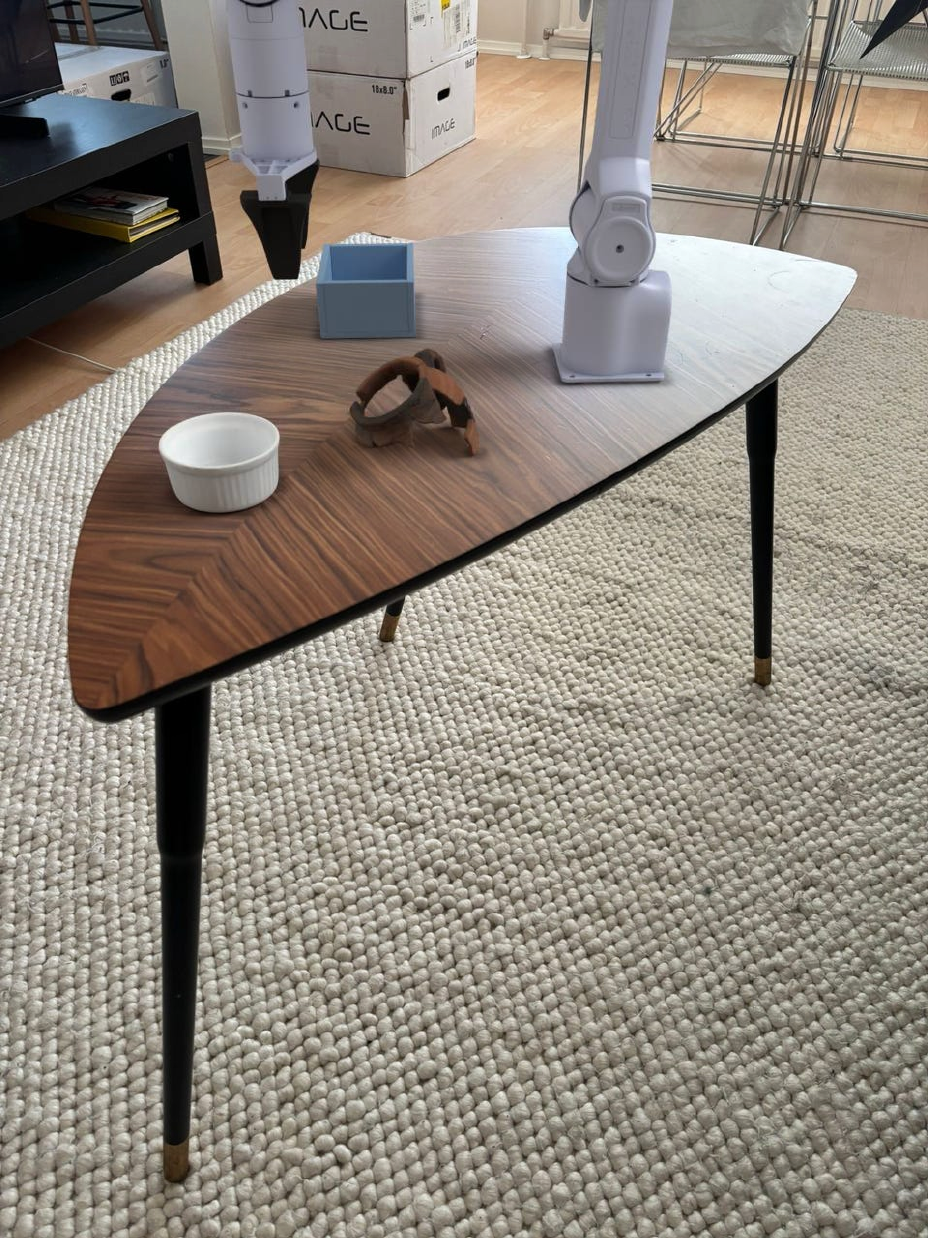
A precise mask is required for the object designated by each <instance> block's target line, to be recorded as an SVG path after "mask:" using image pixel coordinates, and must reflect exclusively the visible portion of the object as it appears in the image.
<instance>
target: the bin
mask: <svg viewBox="0 0 928 1238" xmlns="http://www.w3.org/2000/svg"><path fill="white" fill-rule="evenodd" d="M414 256H415V255H414V242H389V243H387V242H386V243H385V242H382V243H379V242H378V243H377V242H375V243H324V244H323V245H322V250H321V255H320V259H319V266H318V271H317V276H316V281H315V289H316V290H315V291H316V300H317V301H316V302H317V311H318V323H319V335H320V336H319V337H320V339H322V340H323V339H324V340H325V339H328V340H329V339H332V340H333V339H385V338H386V339H387V338H388V339H390V338H391V339H392V338H416V292H415V291H416V290H415V288H416V287H415V257H414Z"/></svg>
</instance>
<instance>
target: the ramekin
mask: <svg viewBox="0 0 928 1238" xmlns="http://www.w3.org/2000/svg"><path fill="white" fill-rule="evenodd" d="M279 446H280V432H279V429H278V428H277V426H275V424H273V423H272V422H271V421H269V420H268V419H266V418H264V417H261V416H259V415H255V414H251V413H246V412H245V413H244V412H235V411H233V412H231V411H228V412H227V411H226V412H223V411H222V412H212V413H206V414H200V415H196V416H192V417H190V418H188V419H184V420H182V421H180V422H178V423H176V424H174V425H172V426H171V427H170V428H168V429H167V430H166V431H165V432H164V433H163V434H162V435H161V437H160V439H159V441H158V451H159V455H160V457H161V458H162V460H163V462H164V463H165V464H164V465H165V467H166V471H167V473H168V477H169V481H170V485H171V487H172V490H173V493H174V495H175V497H176V498H177V499H178V501H180V503H182V504H183V505H185V506H186V507H188V508H191V509H193V510H197V511H201V512H206V513H230V512H237V511H243V510H246V509H249V508H252V507H254V506H257V505H258V504H261V503H263V502H264V501H266V500H267V499H268V498H269V497H270V496H272V495H273V494H274V492H275V490H276V489H277V486H278V484H279V474H280V473H279V472H280V471H279Z"/></svg>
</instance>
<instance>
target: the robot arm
mask: <svg viewBox="0 0 928 1238" xmlns="http://www.w3.org/2000/svg"><path fill="white" fill-rule="evenodd" d="M674 1H675V0H608V4H607V11H606V12H607V13H606V21H605V28H604V29H605V30H604V38H603V39H604V40H603V48H602V55H601V64H600V73H599V81H598V89H597V99H596V109H595V118H594V125H593V134H592V143H591V150H590V152H589V155H588V158H587V159H586V162H585V165H584V169H583V170H584V171H583V180H582V183H581V185H580V188H579V190H578V192H577V193H576V195H575V197H574V198H573V200H572V202H571V205H570V207H569V210H568V225H569V230H570V233H571V235H572V237H573V238H574V240H575V241H576V243H577V247H576V249H575V250H574V253H573V254H572V256H571V257H570V259H569V260H568V262H567V264H566V275H565V291H564V292H565V293H564V307H563V323H562V337H561V339H562V340H561V342H558V343H557V342H556V343H554V344H552V351H553V354H554V358H555V359H554V360H555V362H556V366H557V369H558V374H559V377H560V380H561V382H563V383H564V384H565V383H566V384H569V383H570V384H572V383H573V384H576V383H581V384H582V383H628V382H629V383H633V382H634V383H635V382H636V383H637V382H663V381H664V380H665V373H664V369H665V362H666V354H667V348H668V347H667V345H668V341H669V340H668V338H669V332H670V324H671V316H672V302H673V301H672V299H673V297H672V296H673V295H672V293H673V292H672V283H671V277H670V275H669V273H668V272H667V271H665V270H658V269H657V270H656V269H650V265H651V263H652V261H653V260H654V257H655V254H656V250H657V235H656V232H655V228H654V225H653V222H652V216H651V209H652V201H653V185H652V173H651V155H652V149H653V141H654V134H655V128H656V121H657V115H658V108H659V100H660V94H661V87H662V81H663V75H664V74H663V73H664V67H665V61H666V54H667V48H668V41H669V35H670V28H671V21H672V14H673V7H674ZM225 7H226V11H227V14H228V25H227V32H228V33H227V34H228V40H229V48H230V56H231V66H232V71H233V72H232V74H233V81H234V90H235V95H236V102H237V103H236V104H237V112H238V120H239V127H240V128H239V129H240V136H241V142H242V143H241V145H242V146H240V147H239V146H238V147H232V148H230V150H229V151H228V158H229V162H230V163H241V164H243V165H244V166H245V167H246V168H247V169H248V170H249V171H250V173H251V174H252V175H253V176H254V177H255V178H256V185H257V189H242V190H241V192H240V195H239V203H240V206H241V208H242V210H243V211H244V213H245V215H246V217H248V218H249V220H250V222H251V223H252V226H253V227H254V229H255V232H256V233H257V236H258V238H259V241H260V244H261V246H262V249H263V253H264V256H265V259H266V262H267V265H268V269H269V271H270V274H271V276H272V278H273V280H274V281H294V280H295V281H296V280H299V276H300V273H301V264H302V250H306V247H307V243H308V235H309V224H310V223H309V222H310V207H311V202H312V199H313V187H314V183H315V181H316V177H317V175H318V172H319V170H320V167H321V163H320V162H321V161H320V159H319V158H318V155H317V148H316V147H315V146H314V137H313V136H314V135H313V126H312V125H313V124H312V112H311V101H310V90H309V79H308V67H307V54H306V43H305V41H306V40H305V30H304V23H303V21H302V20H301V16H300V4H299V0H225Z"/></svg>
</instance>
